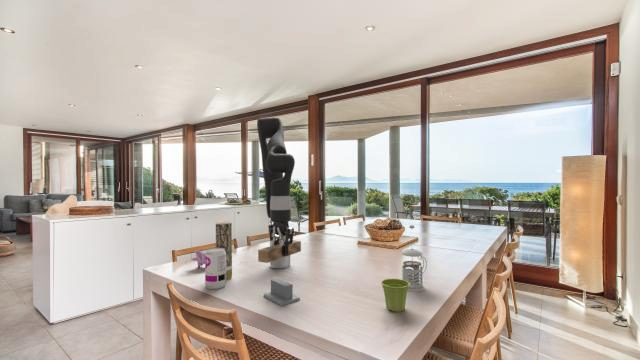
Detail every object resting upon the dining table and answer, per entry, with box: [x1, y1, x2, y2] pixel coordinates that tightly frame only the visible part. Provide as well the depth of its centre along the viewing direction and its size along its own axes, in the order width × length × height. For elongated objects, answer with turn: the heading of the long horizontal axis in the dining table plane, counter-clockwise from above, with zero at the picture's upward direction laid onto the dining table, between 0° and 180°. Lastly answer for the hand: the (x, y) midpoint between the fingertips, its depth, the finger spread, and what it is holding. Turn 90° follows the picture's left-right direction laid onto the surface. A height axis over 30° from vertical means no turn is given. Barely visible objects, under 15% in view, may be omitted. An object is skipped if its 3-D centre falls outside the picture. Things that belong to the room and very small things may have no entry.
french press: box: [401, 224, 428, 292], centre depth 128 cm, size 10×12×25 cm
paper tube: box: [215, 220, 233, 281], centre depth 142 cm, size 7×7×25 cm
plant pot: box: [380, 278, 410, 312], centre depth 108 cm, size 9×9×9 cm
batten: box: [257, 239, 302, 264], centre depth 117 cm, size 20×4×4 cm, turn 149°
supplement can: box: [204, 247, 227, 290], centre depth 131 cm, size 8×8×15 cm
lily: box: [189, 249, 206, 272], centre depth 157 cm, size 12×12×10 cm
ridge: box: [263, 277, 301, 307], centre depth 117 cm, size 8×12×6 cm, turn 40°
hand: (280, 254), depth 117 cm, fingers closed on batten, 5 cm apart
